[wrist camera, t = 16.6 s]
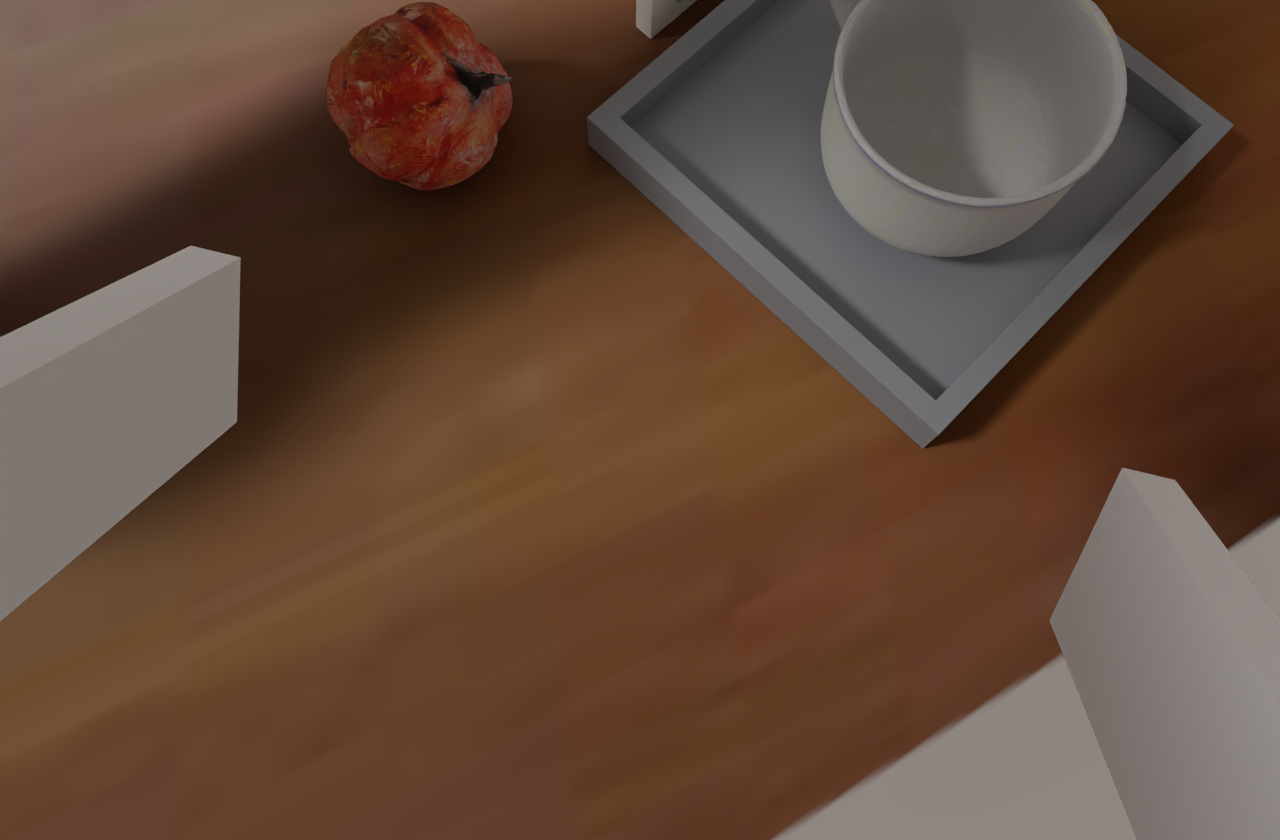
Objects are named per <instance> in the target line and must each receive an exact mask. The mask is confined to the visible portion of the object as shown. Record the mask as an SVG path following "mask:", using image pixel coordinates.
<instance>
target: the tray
mask: <svg viewBox="0 0 1280 840" xmlns="http://www.w3.org/2000/svg"><path fill="white" fill-rule="evenodd" d="M840 32H841V29H840V26H839V24H838V22H837V19H836V17H835V14H834V12H833V9H832V7H831V4H830V0H724V1H723V2H722V3H721V4H720V5H719V6H717V7H716V8H715V9H714V10H713V11H711V12H710V13H709V14H708V15H707V16H706V17H704V18H703V19H702V20H701V21H700V22H698V23H697V24H696V25H695V26H694V27H693V28H691V29H690V30H689V31H688V32H687V33H686V34H684V35H683V36H682V37H681V38H680V39H678V40H677V41H676V42H675V43H674V44H673V45H671V46H670V47H669V48H668V49H667V50H665V51H664V52H663V53H662V54H661V55H660V56H658V57H657V58H656V59H655V60H654V61H653V62H651V63H650V64H649V65H648V66H647V67H645V68H644V69H643V70H642V71H641V72H640V73H638V74H637V75H636V76H635V77H634V78H632V79H631V80H630V81H629V82H628V83H627V84H625V85H624V86H623V87H622V88H621V89H619V90H618V91H617V92H616V93H615V94H614V95H612V96H611V97H610V98H609V99H608V100H607V101H605V102H604V103H603V104H602V105H601V106H599V107H598V108H597V109H596V110H595V111H594V112H592V113H591V114H590V115H589V116H588V117H587V128H588V145H589V146H590V147H591V148H593V149H594V150H595V151H596V152H597V153H598V154H599V155H600V156H601V157H602V158H604V159H605V160H606V161H607V162H608V163H609V164H610V165H611V166H612V167H613V168H614V169H616V170H617V171H618V172H619V173H620V174H621V175H622V176H623V177H624V178H625V179H627V180H628V181H629V182H630V183H631V184H632V185H633V186H634V187H635V188H636V189H638V190H639V191H640V192H641V193H642V194H643V195H644V196H645V197H646V198H647V199H649V200H650V201H651V202H652V203H653V204H654V205H655V206H656V207H657V208H658V209H660V210H661V211H662V212H663V213H664V214H665V215H666V216H667V217H668V218H669V219H671V220H672V221H673V222H674V223H675V224H676V225H677V226H678V227H679V228H680V229H682V230H683V231H684V232H685V233H686V234H687V235H688V236H689V237H690V238H691V239H693V240H694V241H695V242H696V243H697V244H698V245H699V246H700V247H701V248H702V249H704V250H705V251H706V252H707V253H708V254H709V255H710V256H711V257H712V258H713V259H715V260H716V261H717V262H718V263H719V264H720V265H721V266H722V267H723V268H724V269H726V270H727V271H728V272H729V273H730V274H731V275H732V276H733V277H734V278H735V279H736V280H738V281H739V282H740V283H741V284H742V285H743V286H744V287H745V288H746V289H747V290H749V291H750V292H751V293H752V294H753V295H754V296H755V297H756V298H757V299H758V300H760V301H761V302H762V303H763V304H764V305H765V306H766V307H767V308H768V309H769V310H771V311H772V312H773V313H774V314H775V315H776V316H777V317H778V318H779V319H780V320H782V321H783V322H784V323H785V324H786V325H787V326H788V327H789V328H790V329H791V330H793V331H794V332H795V333H796V334H797V335H798V336H799V337H800V338H801V339H802V340H804V341H805V342H806V343H807V344H808V345H809V346H810V347H811V348H812V349H813V350H815V351H816V352H817V353H818V354H819V355H820V356H821V357H822V358H823V359H824V360H826V361H827V362H828V363H829V364H830V365H831V366H832V367H833V368H834V369H835V370H837V371H838V372H839V373H840V374H841V375H842V376H843V377H844V378H845V379H846V380H848V381H849V382H850V383H851V384H852V385H853V386H854V387H855V388H856V389H857V390H859V391H860V392H861V393H862V394H863V395H864V396H865V397H866V398H867V399H868V400H869V401H871V402H872V403H873V404H874V405H875V406H876V407H877V408H878V409H879V410H880V411H882V412H883V413H884V414H885V415H886V416H887V417H888V418H889V419H890V420H891V421H893V422H894V423H895V424H896V425H897V426H898V427H899V428H900V429H901V430H902V431H904V432H905V433H906V434H907V435H908V436H909V437H910V438H911V439H912V440H913V441H915V442H916V443H917V444H918V445H919V446H920V447H921V448H922V449H923V448H924V447H925V446H926V445H927V444H929V443H930V442H931V441H932V440H933V439H934V438H936V437H937V436H938V435H939V434H940V433H941V432H942V431H943V430H944V429H945V428H946V427H947V426H948V424H949V423H950V422H951V421H952V420H953V419H954V418H955V417H956V416H957V415H958V414H959V413H960V412H961V411H962V410H963V409H964V408H965V407H966V406H967V405H968V404H969V402H970V401H971V400H972V399H973V398H974V397H975V396H976V395H977V394H978V393H979V392H980V391H981V390H982V389H983V388H984V387H985V386H986V385H987V384H988V383H989V382H990V380H991V379H992V378H993V377H994V376H995V375H996V374H997V373H998V372H999V371H1000V370H1001V369H1002V368H1003V367H1004V366H1005V365H1006V364H1007V363H1008V362H1009V361H1010V359H1011V358H1012V357H1013V356H1014V355H1015V354H1016V353H1017V352H1018V351H1019V350H1020V349H1021V348H1022V347H1023V346H1024V345H1025V344H1026V343H1027V342H1028V341H1029V340H1030V339H1031V337H1032V336H1033V335H1034V334H1035V333H1036V332H1037V331H1038V330H1039V329H1040V328H1041V327H1042V326H1043V325H1044V324H1045V323H1046V322H1047V321H1048V320H1049V319H1050V318H1051V317H1052V315H1053V314H1054V313H1055V312H1056V311H1057V310H1058V309H1059V308H1060V307H1061V306H1062V305H1063V304H1064V303H1065V302H1066V301H1067V300H1068V299H1069V298H1070V297H1071V296H1072V295H1073V293H1074V292H1075V291H1076V290H1077V289H1078V288H1079V287H1080V286H1081V285H1082V284H1083V283H1084V282H1085V281H1086V280H1087V279H1088V278H1089V277H1090V276H1091V275H1092V274H1093V272H1094V271H1095V270H1096V269H1097V268H1098V267H1099V266H1100V265H1101V264H1102V263H1103V262H1104V261H1105V260H1106V259H1107V258H1108V257H1109V256H1110V255H1111V254H1112V253H1113V252H1114V250H1115V249H1116V248H1117V247H1118V246H1119V245H1120V244H1121V243H1122V242H1123V241H1124V240H1125V239H1126V238H1127V237H1128V236H1129V235H1130V234H1131V233H1132V232H1133V231H1134V230H1135V228H1136V227H1137V226H1138V225H1139V224H1140V223H1141V222H1142V221H1143V220H1144V219H1145V218H1146V217H1147V216H1148V215H1149V214H1150V213H1151V212H1152V211H1153V210H1154V209H1155V207H1156V206H1157V205H1158V204H1159V203H1160V202H1161V201H1162V200H1163V199H1164V198H1165V197H1166V196H1167V195H1168V194H1169V193H1170V192H1171V191H1172V190H1173V189H1174V188H1175V187H1176V185H1177V184H1178V183H1179V182H1180V181H1181V180H1182V179H1183V178H1184V177H1185V176H1186V175H1187V174H1188V173H1189V172H1190V171H1191V170H1192V169H1193V168H1194V167H1195V166H1196V165H1197V163H1198V162H1199V161H1200V160H1201V159H1202V158H1203V157H1204V156H1205V155H1206V154H1207V153H1208V152H1209V151H1210V150H1211V149H1212V148H1213V147H1214V146H1215V145H1216V144H1217V142H1218V141H1219V140H1220V139H1221V138H1222V137H1223V136H1224V135H1225V134H1226V133H1227V132H1228V131H1229V130H1230V129H1231V128H1232V127H1233V126H1234V125H1233V124H1232V123H1231V122H1229V121H1228V120H1227V119H1225V118H1224V117H1223V116H1222V115H1220V114H1219V113H1218V112H1216V111H1215V110H1214V109H1212V108H1211V107H1210V106H1209V105H1207V104H1206V103H1205V102H1203V101H1202V100H1201V99H1199V98H1198V97H1197V96H1196V95H1194V94H1193V93H1192V92H1190V91H1189V90H1188V89H1187V88H1185V87H1184V86H1183V85H1181V84H1180V83H1179V82H1177V81H1176V80H1175V79H1174V78H1172V77H1171V76H1170V75H1168V74H1167V73H1166V72H1164V71H1163V70H1162V69H1161V68H1159V67H1158V66H1157V65H1155V64H1154V63H1153V62H1152V61H1150V60H1149V59H1148V58H1146V57H1145V56H1144V55H1142V54H1141V53H1140V52H1139V51H1137V50H1136V49H1135V48H1133V47H1132V46H1131V45H1129V44H1128V43H1127V42H1126V41H1124V40H1123V39H1122V38H1120V37H1119V36H1118V35H1117V34H1116V36H1117V38H1118V41H1119V45H1120V48H1121V50H1122V53H1123V57H1124V62H1125V66H1126V74H1127V95H1126V107H1125V109H1124V113H1123V118H1122V121H1121V123H1120V126H1119V129H1118V131H1117V134H1116V136H1115V138H1114V140H1113V142H1112V144H1111V146H1110V147H1109V149H1108V150H1107V151H1106V153H1105V154H1104V156H1103V157H1102V158H1101V160H1100V161H1099V162H1098V163H1097V164H1096V165H1095V166H1094V167H1093V168H1092V169H1091V170H1090V171H1089V172H1088V173H1087V174H1086V175H1084V176H1083V177H1082V178H1081V179H1079V180H1078V181H1076V182H1075V184H1074V185H1073V186H1072V187H1071V188H1070V189H1069V190H1068V192H1067V193H1066V194H1065V195H1064V196H1063V197H1062V198H1061V199H1060V200H1059V201H1058V202H1057V203H1056V204H1055V205H1054V206H1053V207H1052V208H1051V209H1050V210H1049V211H1048V212H1047V213H1046V214H1045V215H1044V216H1043V217H1042V218H1041V219H1040V220H1038V221H1037V222H1036V223H1035V224H1034V225H1033V226H1032V227H1030V228H1029V229H1028V230H1026V231H1025V232H1023V233H1022V234H1020V235H1019V236H1017V237H1016V238H1014V239H1012V240H1010V241H1008V242H1006V243H1004V244H1002V245H1000V246H998V247H995V248H992V249H990V250H987V251H983V252H980V253H976V254H971V255H966V256H957V257H936V256H925V255H920V254H916V253H912V252H908V251H905V250H902V249H899V248H896V247H894V246H892V245H890V244H888V243H886V242H884V241H882V240H880V239H879V238H877V237H875V236H874V235H872V234H871V233H869V232H868V231H867V230H865V229H864V228H863V227H862V226H860V225H859V224H858V223H857V222H856V221H855V220H854V219H853V218H852V217H851V216H850V215H849V214H848V212H847V211H846V210H845V208H844V207H843V206H842V204H841V203H840V202H839V200H838V199H837V197H836V195H835V193H834V192H833V190H832V187H831V185H830V182H829V180H828V178H827V175H826V171H825V168H824V163H823V159H822V151H821V123H822V115H823V110H824V105H825V100H826V95H827V91H828V86H829V82H830V79H831V75H832V71H833V59H834V52H835V48H836V45H837V42H838V38H839V35H840Z"/></svg>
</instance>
